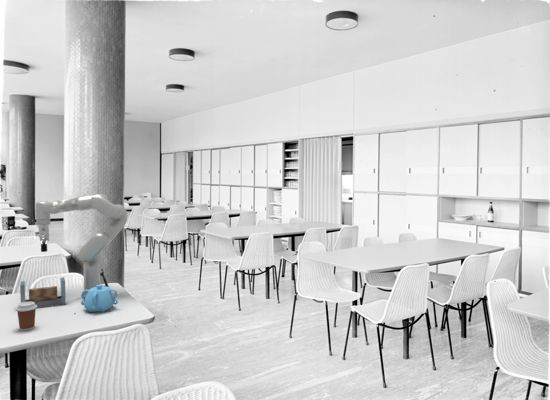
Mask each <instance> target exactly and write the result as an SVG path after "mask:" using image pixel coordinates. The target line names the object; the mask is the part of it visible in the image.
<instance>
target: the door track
mask: <svg viewBox="0 0 550 400" xmlns="http://www.w3.org/2000/svg"><path fill="white" fill-rule="evenodd" d="M59 280H60V281H59V282H60V295H57V299H52V300H44V301H35V302H34V303H35V305H37V308H36V310H37V309H43V308H51V307H52V306H53V307H59V306H66V305H67V303H66V279H65V277H60V279H59ZM19 287H20V291H19V292H20V303H23V302H29V298H28V299H26V282H25V280H23V281H20V284H19Z"/></svg>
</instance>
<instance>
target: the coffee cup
mask: <svg viewBox="0 0 550 400" xmlns="http://www.w3.org/2000/svg"><path fill="white" fill-rule="evenodd" d="M36 308H37V305H35V303H34V302H23V303H21V302H20V303H18V304H17V306H16V307H15V312H17V318H18V320H17V321H18V327H19V331H29V330H33V329H35V326H36V325H35V324H36V310H37V309H38V308H37V309H36Z"/></svg>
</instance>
